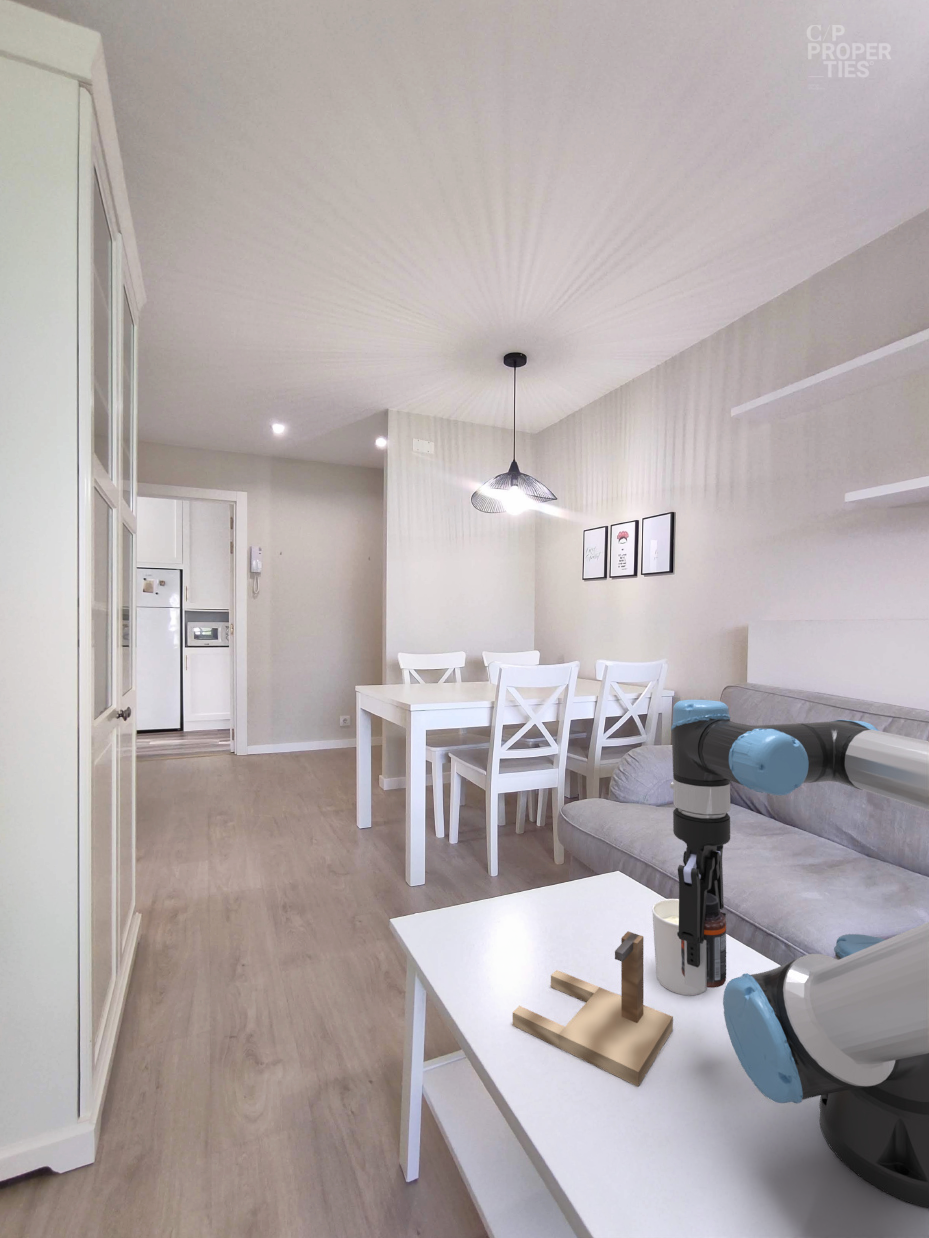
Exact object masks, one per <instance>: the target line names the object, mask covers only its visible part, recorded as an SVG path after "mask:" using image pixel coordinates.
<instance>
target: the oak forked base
mask: <svg viewBox="0 0 929 1238" xmlns="http://www.w3.org/2000/svg"><path fill="white" fill-rule="evenodd" d="M550 988H552V989H554V990H557V991H559V992H561V993H564V994H566V995H568V996H571V997H573V998H576V999H577V1000H581V1001H583V1002H585V1003H584V1005H582V1007H580V1009H579V1010H578V1011H577V1012H576V1014H575V1015H574V1016H573V1017H572V1018H571V1019H570V1021H568V1023H567V1024H566V1025H563V1024H560V1023H559V1022H556V1021H554V1020H551V1019H550V1018H547V1017H545V1016H543V1015H541V1014H538V1013H537V1012H534V1011H533V1010H530V1009H528V1008H525V1007H523V1006H522V1005H518V1007H516V1009H514V1010H513V1012H512V1026H513V1027H515V1028H517V1029H519V1030H521V1031H524V1032H526V1033H528V1034H530V1035H532V1036H534V1037H535V1038H537V1039H540V1040H542V1041H544V1042H546V1043H548V1044H550V1045H552V1046H554V1047H556V1048H558V1049H559V1050H563V1051H564V1052H566V1053H568V1054H571V1055H573V1056H575V1057H576V1058H579V1059H581V1060H582V1061H585V1062H587V1063H589V1064H590V1065H593V1066H595V1067H597V1068H599V1069H601V1070H603V1071H605V1072H607V1073H609V1074H611V1075H613V1076H615V1077H618V1078H620V1079H622V1080H624V1081H626V1082H628V1083H630V1084H631V1085H633V1086H636V1087H640V1085H641V1083H642V1082H643V1080H644V1078H645V1077H646V1075H647V1073H648V1071H650V1068H651V1067H652V1066H653V1063H654V1062H655V1060H656V1059H657V1057H658V1055H659V1054H660V1052H661V1050H662V1048H663V1047H664V1046H665V1044H666V1041H668V1038H669V1037H670V1035H671V1034H672V1032H673V1030H674V1016H673V1015H670V1014H667V1013H666V1012H662V1011H660V1010H658V1009H655V1008H654V1007H653V1008H652V1007H650V1006H647V1005H645V1004H643V1016H642V1017H641V1019H640V1020H639V1022H638V1023H635V1022H633V1021H631V1020H628V1019H626V1018H624V1017H621V995H620V994H617V993H615V992H613V991H610V990H607V989H605V988H603V987H600V986H598V985H595V984H592V983H590V982H588V981H585V980H582V979H580V978H578V977H576V976H572V975H570V974H568V973H565V972H563V971H561V970H558V969H555V971H554V972H552V974H551V975H550Z"/></svg>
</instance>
